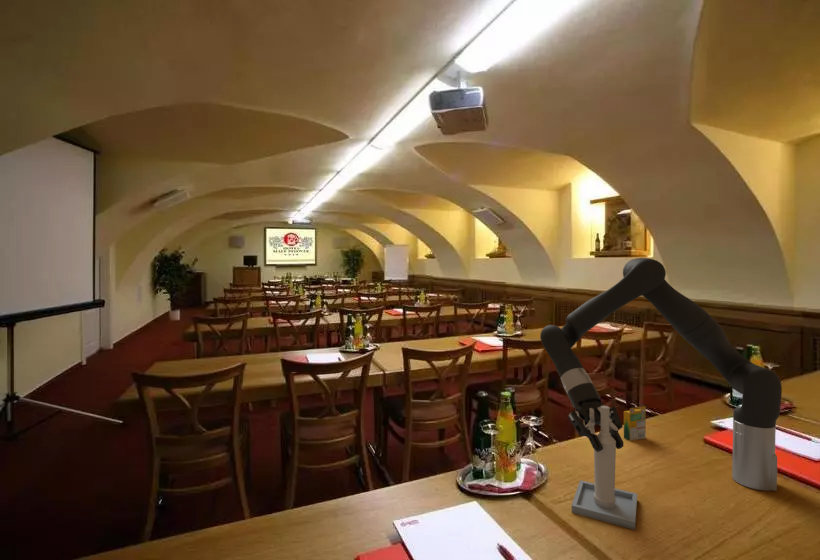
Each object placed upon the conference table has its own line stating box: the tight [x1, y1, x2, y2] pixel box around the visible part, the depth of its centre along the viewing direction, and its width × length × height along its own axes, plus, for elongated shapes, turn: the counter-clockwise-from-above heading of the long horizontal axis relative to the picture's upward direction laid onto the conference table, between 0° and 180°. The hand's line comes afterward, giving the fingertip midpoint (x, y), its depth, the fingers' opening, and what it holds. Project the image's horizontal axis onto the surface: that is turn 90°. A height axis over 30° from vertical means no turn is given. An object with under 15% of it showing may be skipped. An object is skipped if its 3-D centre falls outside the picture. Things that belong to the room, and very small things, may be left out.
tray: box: [571, 479, 638, 531], centre depth 106 cm, size 14×14×2 cm
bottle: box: [593, 405, 617, 509], centre depth 106 cm, size 5×5×25 cm
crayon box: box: [623, 405, 647, 442], centre depth 148 cm, size 7×3×12 cm, turn 108°
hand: (610, 448), depth 104 cm, fingers open, 5 cm apart
